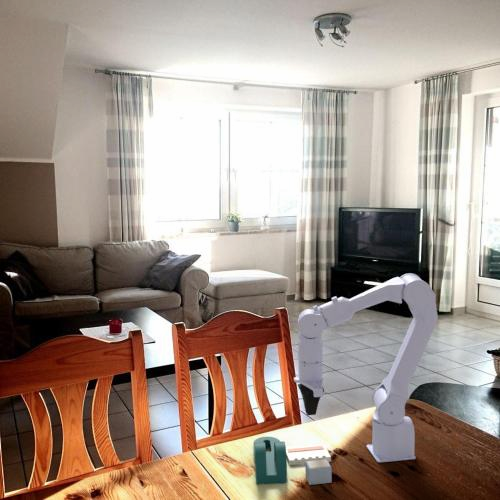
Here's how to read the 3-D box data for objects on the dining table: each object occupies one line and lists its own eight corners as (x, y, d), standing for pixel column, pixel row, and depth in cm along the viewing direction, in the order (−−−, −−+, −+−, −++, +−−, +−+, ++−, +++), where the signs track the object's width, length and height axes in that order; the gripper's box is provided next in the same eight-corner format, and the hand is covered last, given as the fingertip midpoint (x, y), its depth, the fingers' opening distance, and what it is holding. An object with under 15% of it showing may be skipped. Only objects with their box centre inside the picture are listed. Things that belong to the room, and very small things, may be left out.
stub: (327, 474, 123) (327, 458, 123) (331, 482, 120) (331, 466, 119) (305, 476, 122) (305, 460, 122) (309, 484, 119) (309, 468, 118)
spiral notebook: (323, 448, 135) (323, 443, 134) (330, 461, 129) (330, 455, 129) (284, 452, 133) (284, 447, 133) (289, 465, 127) (289, 459, 127)
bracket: (287, 484, 120) (286, 450, 119) (256, 485, 120) (255, 451, 119) (279, 444, 138) (279, 415, 137) (252, 445, 138) (252, 415, 137)
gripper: (287, 351, 137) (288, 403, 138) (301, 371, 122) (301, 428, 124) (314, 349, 138) (315, 400, 139) (331, 369, 123) (331, 426, 125)
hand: (310, 413), depth 132 cm, fingers closed
